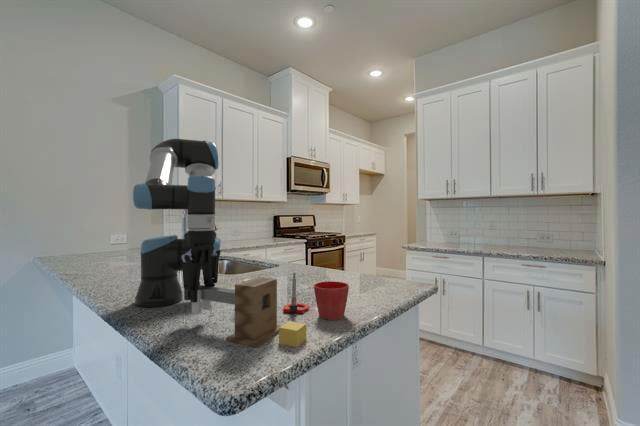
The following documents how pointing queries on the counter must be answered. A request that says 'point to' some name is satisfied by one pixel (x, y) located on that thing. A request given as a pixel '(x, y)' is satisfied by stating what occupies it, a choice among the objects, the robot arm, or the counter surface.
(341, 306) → the flower pot
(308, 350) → the counter surface
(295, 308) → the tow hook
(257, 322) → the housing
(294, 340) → the block
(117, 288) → the counter surface
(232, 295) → the shaft
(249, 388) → the counter surface
